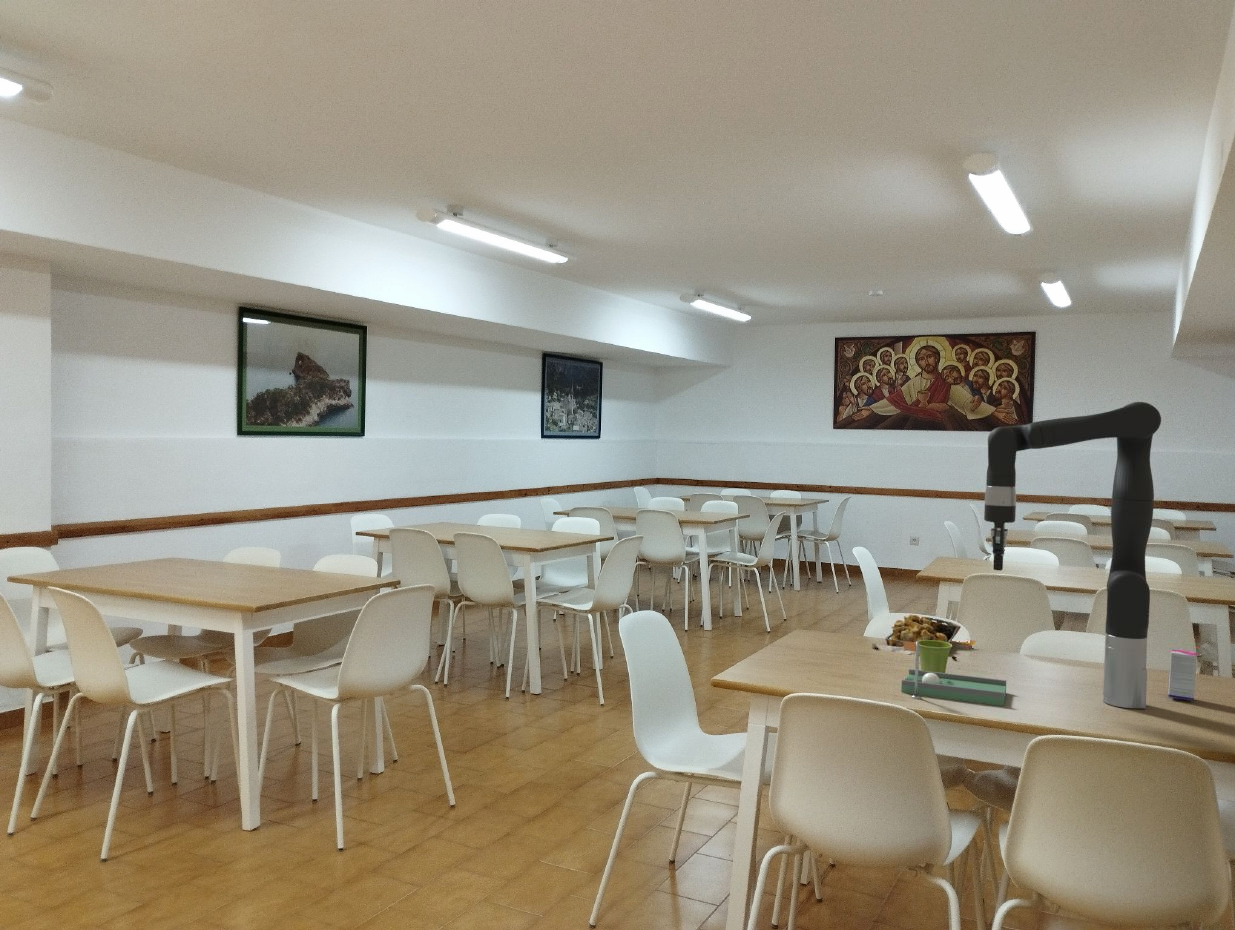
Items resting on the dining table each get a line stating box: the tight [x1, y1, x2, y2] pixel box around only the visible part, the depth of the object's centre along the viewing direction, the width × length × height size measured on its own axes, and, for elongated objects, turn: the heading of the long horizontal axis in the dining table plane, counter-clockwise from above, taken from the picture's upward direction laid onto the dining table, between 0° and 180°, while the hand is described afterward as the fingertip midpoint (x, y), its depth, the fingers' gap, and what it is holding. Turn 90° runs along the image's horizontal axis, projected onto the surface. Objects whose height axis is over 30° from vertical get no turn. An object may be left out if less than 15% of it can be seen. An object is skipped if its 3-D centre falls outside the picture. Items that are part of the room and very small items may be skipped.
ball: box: [922, 673, 940, 684], centre depth 242 cm, size 4×4×4 cm
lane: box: [900, 668, 1007, 707], centre depth 240 cm, size 24×14×3 cm, turn 65°
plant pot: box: [917, 640, 953, 673], centre depth 258 cm, size 9×9×9 cm
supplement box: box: [1167, 648, 1198, 701], centre depth 241 cm, size 6×6×12 cm
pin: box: [904, 641, 922, 700], centre depth 234 cm, size 4×2×14 cm, turn 65°
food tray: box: [871, 614, 977, 662], centre depth 298 cm, size 35×26×11 cm
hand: (998, 569), depth 245 cm, fingers closed
